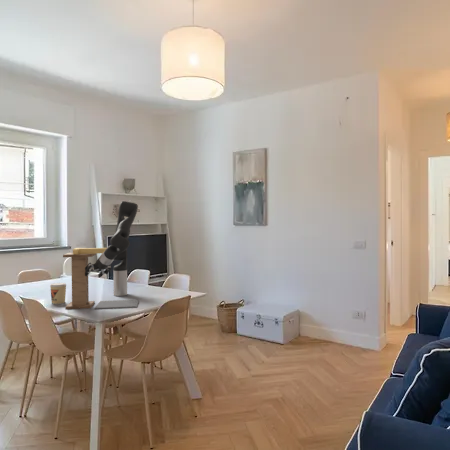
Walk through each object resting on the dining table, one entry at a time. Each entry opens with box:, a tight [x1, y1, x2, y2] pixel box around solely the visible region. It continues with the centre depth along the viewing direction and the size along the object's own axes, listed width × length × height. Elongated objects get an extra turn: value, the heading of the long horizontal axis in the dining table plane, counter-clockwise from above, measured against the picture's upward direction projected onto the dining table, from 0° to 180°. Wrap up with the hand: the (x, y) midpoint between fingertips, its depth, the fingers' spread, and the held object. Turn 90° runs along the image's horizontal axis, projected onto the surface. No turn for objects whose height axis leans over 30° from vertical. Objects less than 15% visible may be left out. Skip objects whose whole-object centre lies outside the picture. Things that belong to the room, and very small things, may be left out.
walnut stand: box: [62, 252, 97, 310], centre depth 237 cm, size 14×16×32 cm
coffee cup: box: [49, 282, 67, 305], centre depth 247 cm, size 9×9×12 cm
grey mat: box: [94, 299, 140, 310], centre depth 240 cm, size 20×24×1 cm
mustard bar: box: [72, 247, 108, 254], centre depth 238 cm, size 10×20×3 cm, turn 99°
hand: (92, 275), depth 235 cm, fingers open, 8 cm apart
